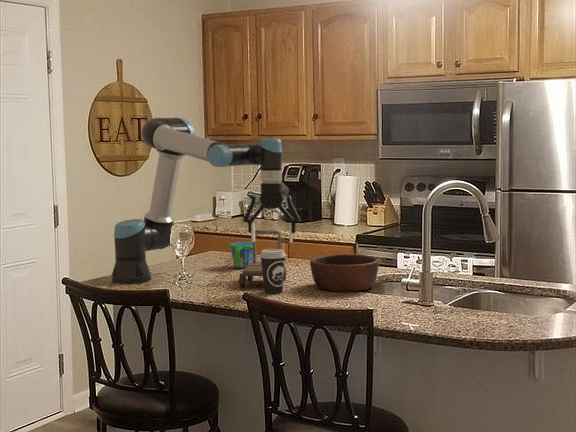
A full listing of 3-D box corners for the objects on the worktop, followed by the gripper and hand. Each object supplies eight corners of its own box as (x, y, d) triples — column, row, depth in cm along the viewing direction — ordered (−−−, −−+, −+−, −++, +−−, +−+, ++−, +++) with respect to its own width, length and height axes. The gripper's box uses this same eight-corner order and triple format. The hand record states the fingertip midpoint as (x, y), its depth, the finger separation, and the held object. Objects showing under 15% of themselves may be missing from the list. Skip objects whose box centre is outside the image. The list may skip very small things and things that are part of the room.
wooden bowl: (343, 278, 300) (343, 251, 299) (392, 286, 282) (392, 259, 281) (296, 287, 284) (296, 259, 282) (346, 297, 265) (345, 267, 264)
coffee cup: (288, 289, 279) (287, 248, 278) (285, 295, 270) (284, 252, 268) (262, 289, 280) (261, 248, 279) (258, 294, 271) (257, 252, 269)
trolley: (278, 288, 281) (277, 236, 279) (239, 288, 283) (238, 236, 281) (286, 278, 300) (285, 229, 297) (249, 278, 302) (248, 229, 300)
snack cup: (247, 271, 317) (246, 247, 316) (224, 270, 321) (223, 246, 320) (261, 265, 332) (261, 241, 330) (239, 264, 335) (238, 240, 334)
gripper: (234, 183, 269) (235, 243, 272) (305, 183, 265) (305, 244, 268) (239, 181, 276) (239, 240, 279) (307, 181, 273) (308, 240, 275)
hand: (272, 242), depth 273 cm, fingers open, 13 cm apart
